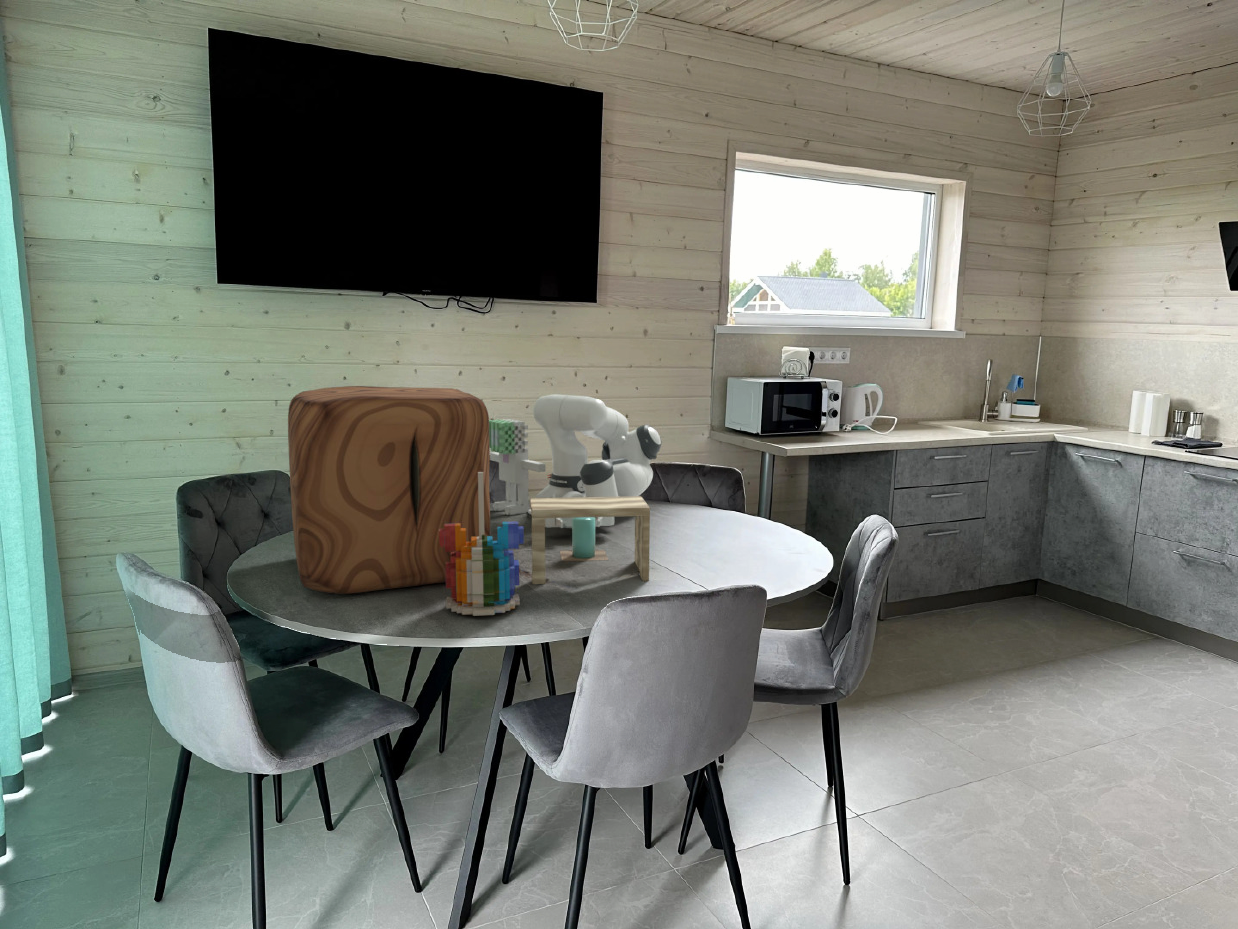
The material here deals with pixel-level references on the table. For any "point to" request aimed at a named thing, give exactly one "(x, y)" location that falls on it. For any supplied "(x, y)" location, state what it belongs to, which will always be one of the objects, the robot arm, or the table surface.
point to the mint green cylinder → (583, 537)
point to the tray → (568, 557)
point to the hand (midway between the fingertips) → (580, 524)
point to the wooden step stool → (589, 508)
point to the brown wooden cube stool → (383, 483)
